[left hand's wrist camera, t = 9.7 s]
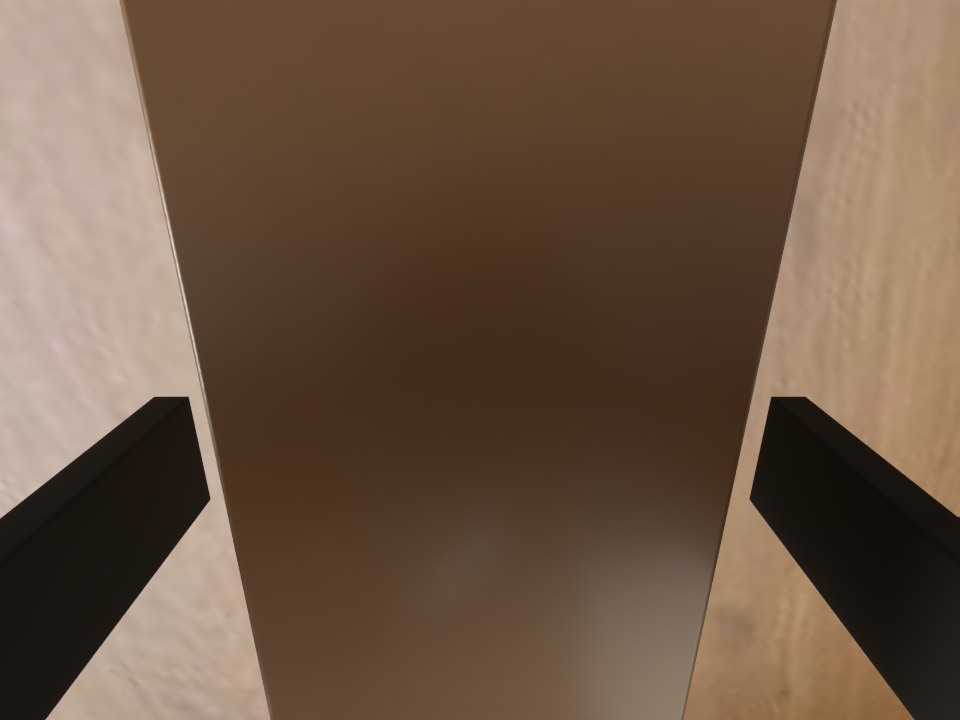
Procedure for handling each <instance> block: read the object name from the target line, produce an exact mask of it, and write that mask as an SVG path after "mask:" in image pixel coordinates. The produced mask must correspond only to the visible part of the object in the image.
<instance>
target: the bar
mask: <svg viewBox="0 0 960 720" xmlns="http://www.w3.org/2000/svg"><path fill="white" fill-rule="evenodd" d="M836 2H837V0H120V5H121V10H122V15H123V19H124V24H125V29H126V34H127V38H128V43H129V48H130V53H131V57H132V62H133V67H134V72H135V76H136V81H137V86H138V91H139V95H140V100H141V105H142V110H143V114H144V119H145V124H146V129H147V133H148V138H149V143H150V148H151V152H152V157H153V162H154V167H155V171H156V176H157V181H158V186H159V190H160V195H161V200H162V205H163V209H164V214H165V219H166V224H167V228H168V233H169V238H170V243H171V247H172V252H173V257H174V262H175V266H176V271H177V276H178V281H179V285H180V290H181V295H182V300H183V304H184V309H185V314H186V319H187V323H188V328H189V333H190V338H191V342H192V347H193V352H194V357H195V361H196V366H197V371H198V376H199V380H200V385H201V390H202V395H203V399H204V404H205V409H206V414H207V418H208V423H209V428H210V433H211V437H212V442H213V447H214V452H215V456H216V461H217V466H218V471H219V475H220V480H221V485H222V490H223V494H224V499H225V504H226V509H227V513H228V518H229V523H230V528H231V532H232V537H233V542H234V547H235V551H236V556H237V561H238V566H239V570H240V575H241V580H242V585H243V589H244V594H245V599H246V604H247V608H248V613H249V618H250V623H251V627H252V632H253V637H254V642H255V646H256V651H257V656H258V661H259V665H260V670H261V675H262V680H263V684H264V689H265V694H266V699H267V703H268V708H269V713H270V718H271V720H683V717H684V713H685V708H686V703H687V699H688V694H689V689H690V685H691V680H692V675H693V671H694V666H695V661H696V657H697V652H698V647H699V643H700V638H701V633H702V628H703V624H704V619H705V614H706V610H707V605H708V600H709V596H710V591H711V586H712V582H713V577H714V572H715V568H716V563H717V558H718V554H719V549H720V544H721V540H722V535H723V530H724V526H725V521H726V516H727V512H728V507H729V502H730V498H731V493H732V488H733V484H734V479H735V474H736V469H737V465H738V460H739V455H740V451H741V446H742V441H743V437H744V432H745V427H746V423H747V418H748V413H749V409H750V404H751V399H752V395H753V390H754V385H755V381H756V376H757V371H758V367H759V362H760V357H761V353H762V348H763V343H764V339H765V334H766V329H767V325H768V320H769V315H770V310H771V306H772V301H773V296H774V292H775V287H776V282H777V278H778V273H779V268H780V264H781V259H782V254H783V250H784V245H785V240H786V236H787V231H788V226H789V222H790V217H791V212H792V208H793V203H794V198H795V194H796V189H797V184H798V180H799V175H800V170H801V166H802V161H803V156H804V151H805V147H806V142H807V137H808V133H809V128H810V123H811V119H812V114H813V109H814V105H815V100H816V95H817V91H818V86H819V81H820V77H821V72H822V67H823V63H824V58H825V53H826V49H827V44H828V39H829V35H830V30H831V25H832V21H833V16H834V11H835V7H836Z"/></svg>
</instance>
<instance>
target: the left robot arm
mask: <svg viewBox="0 0 960 720" xmlns="http://www.w3.org/2000/svg"><path fill="white" fill-rule="evenodd" d="M209 501H210V495H209V490H208V485H207V481H206V476H205V471H204V467H203V462H202V457H201V453H200V448H199V443H198V438H197V434H196V429H195V424H194V420H193V415H192V410H191V406H190V401H189V397H154V398H152V399H151V400H150V401H149V402H147V403H146V404H145V405H144V406H142V407H141V408H140V409H139V410H137V411H136V412H135V413H133V414H132V415H131V416H130V417H128V418H127V419H126V420H125V421H123V422H122V423H121V424H120V425H118V426H117V427H116V428H114V429H113V430H112V431H111V432H109V433H108V434H107V435H106V436H104V437H103V438H102V439H101V440H99V441H98V442H97V443H96V444H94V445H93V446H92V447H90V448H89V449H88V450H87V451H85V452H84V453H83V454H82V455H80V456H79V457H78V458H77V459H75V460H74V461H73V462H71V463H70V464H69V465H68V466H66V467H65V468H64V469H63V470H61V471H60V472H59V473H58V474H56V475H55V476H54V477H52V478H51V479H50V480H49V481H47V482H46V483H45V484H44V485H42V486H41V487H40V488H39V489H37V490H36V491H35V492H33V493H32V494H31V495H30V496H28V497H27V498H26V499H25V500H23V501H22V502H21V503H20V504H18V505H17V506H16V507H15V508H13V509H12V510H11V511H9V512H8V513H7V514H6V515H4V516H3V517H2V518H1V519H0V720H46V718H47V717H48V716H49V714H50V713H51V712H52V710H53V709H54V707H55V706H56V705H57V703H58V702H59V701H60V699H61V698H62V697H63V695H64V694H65V693H66V691H67V690H68V689H69V687H70V686H71V685H72V683H73V682H74V681H75V679H76V678H77V677H78V675H79V674H80V673H81V671H82V670H83V669H84V667H85V666H86V665H87V663H88V662H89V661H90V659H91V658H92V657H93V655H94V654H95V653H96V651H97V650H98V649H99V647H100V646H101V645H102V643H103V642H104V641H105V639H106V638H107V637H108V635H109V634H110V633H111V631H112V630H113V629H114V627H115V626H116V625H117V623H118V622H119V621H120V619H121V618H122V617H123V615H124V614H125V613H126V611H127V610H128V609H129V607H130V606H131V605H132V603H133V602H134V601H135V599H136V598H137V597H138V595H139V594H140V593H141V591H142V590H143V589H144V587H145V586H146V585H147V583H148V582H149V581H150V579H151V578H152V577H153V575H154V574H155V573H156V571H157V570H158V569H159V567H160V566H161V565H162V563H163V562H164V561H165V559H166V558H167V557H168V555H169V554H170V553H171V551H172V550H173V549H174V547H175V546H176V545H177V543H178V542H179V541H180V539H181V538H182V537H183V535H184V534H185V533H186V531H187V530H188V529H189V527H190V526H191V525H192V523H193V522H194V521H195V519H196V518H197V517H198V515H199V514H200V513H201V511H202V510H203V509H204V507H205V506H206V505H207V503H208V502H209ZM750 501H751V502H752V503H753V505H754V506H755V507H756V509H757V510H758V511H759V513H760V514H761V515H762V517H763V518H764V519H765V521H766V522H767V523H768V525H769V526H770V527H771V529H772V530H773V531H774V533H775V534H776V535H777V537H778V538H779V539H780V541H781V542H782V543H783V545H784V546H785V547H786V549H787V550H788V551H789V553H790V554H791V555H792V557H793V558H794V559H795V561H796V562H797V563H798V565H799V566H800V567H801V569H802V570H803V571H804V573H805V574H806V575H807V577H808V578H809V579H810V581H811V582H812V583H813V585H814V586H815V587H816V589H817V590H818V591H819V593H820V594H821V595H822V597H823V598H824V599H825V601H826V602H827V603H828V605H829V606H830V607H831V609H832V610H833V611H834V613H835V614H836V615H837V617H838V618H839V619H840V621H841V622H842V623H843V625H844V626H845V627H846V629H847V630H848V631H849V633H850V634H851V635H852V637H853V638H854V639H855V641H856V642H857V643H858V645H859V646H860V647H861V649H862V650H863V651H864V653H865V654H866V655H867V657H868V658H869V659H870V661H871V662H872V663H873V665H874V666H875V667H876V669H877V670H878V671H879V673H880V674H881V675H882V677H883V678H884V679H885V681H886V682H887V683H888V685H889V686H890V687H891V689H892V690H893V691H894V693H895V694H896V695H897V697H898V698H899V699H900V701H901V702H902V703H903V705H904V706H905V708H906V709H907V710H908V712H909V713H910V714H911V716H912V717H913V718H914V720H960V517H957V516H956V515H954V514H953V513H952V512H951V511H949V510H948V509H947V508H945V507H944V506H943V505H942V504H940V503H939V502H938V501H937V500H935V499H934V498H933V497H932V496H930V495H929V494H928V493H927V492H925V491H924V490H923V489H921V488H920V487H919V486H918V485H916V484H915V483H914V482H913V481H911V480H910V479H909V478H908V477H906V476H905V475H904V474H902V473H901V472H900V471H899V470H897V469H896V468H895V467H894V466H892V465H891V464H890V463H889V462H887V461H886V460H885V459H883V458H882V457H881V456H880V455H878V454H877V453H876V452H875V451H873V450H872V449H871V448H870V447H868V446H867V445H866V444H864V443H863V442H862V441H861V440H859V439H858V438H857V437H856V436H854V435H853V434H852V433H851V432H849V431H848V430H847V429H846V428H844V427H843V426H842V425H840V424H839V423H838V422H837V421H835V420H834V419H833V418H832V417H830V416H829V415H828V414H827V413H825V412H824V411H823V410H821V409H820V408H819V407H818V406H816V405H815V404H814V403H813V402H811V401H810V400H809V399H808V398H806V397H771V401H770V406H769V410H768V415H767V420H766V424H765V429H764V434H763V438H762V443H761V448H760V453H759V457H758V462H757V467H756V471H755V476H754V481H753V485H752V490H751V495H750Z"/></svg>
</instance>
